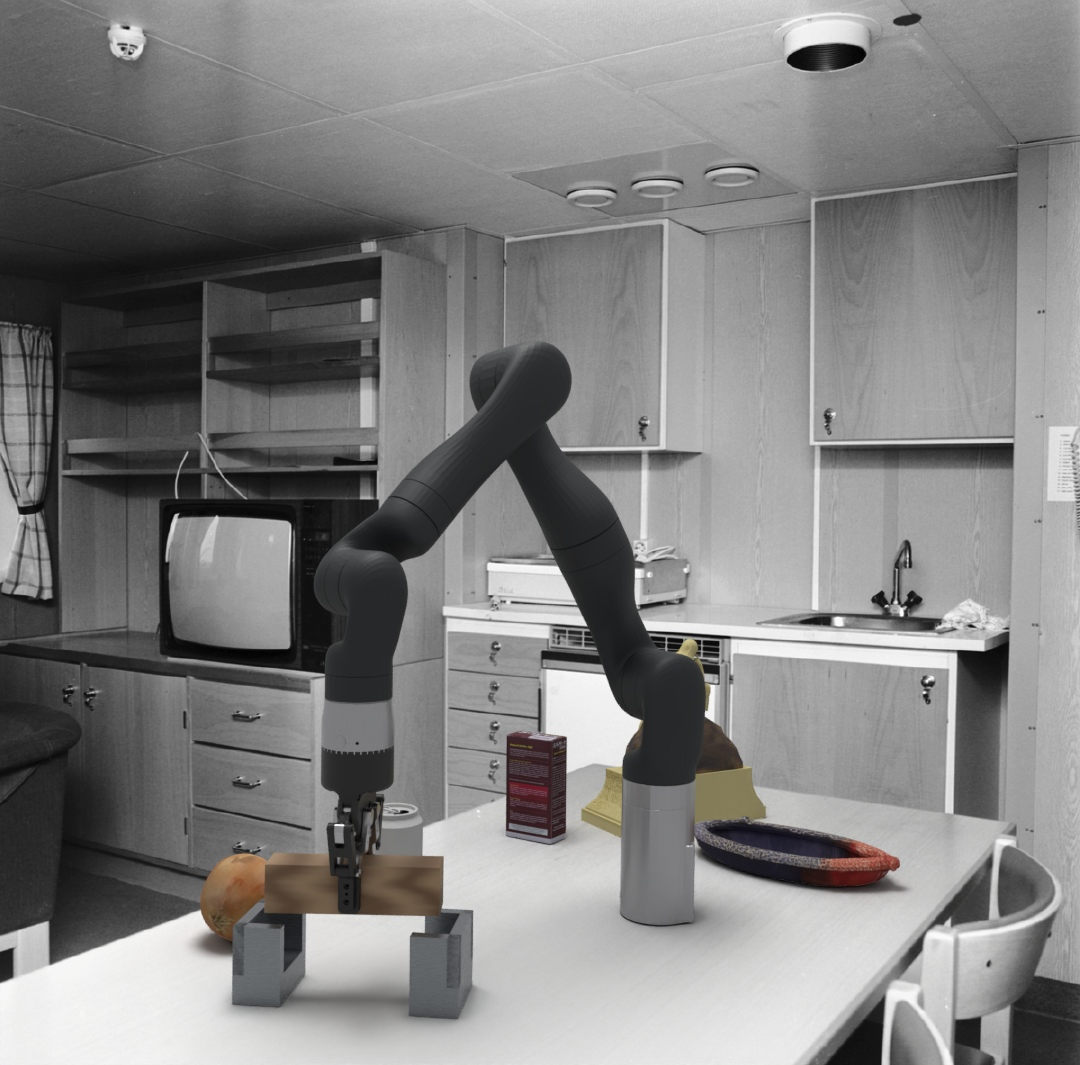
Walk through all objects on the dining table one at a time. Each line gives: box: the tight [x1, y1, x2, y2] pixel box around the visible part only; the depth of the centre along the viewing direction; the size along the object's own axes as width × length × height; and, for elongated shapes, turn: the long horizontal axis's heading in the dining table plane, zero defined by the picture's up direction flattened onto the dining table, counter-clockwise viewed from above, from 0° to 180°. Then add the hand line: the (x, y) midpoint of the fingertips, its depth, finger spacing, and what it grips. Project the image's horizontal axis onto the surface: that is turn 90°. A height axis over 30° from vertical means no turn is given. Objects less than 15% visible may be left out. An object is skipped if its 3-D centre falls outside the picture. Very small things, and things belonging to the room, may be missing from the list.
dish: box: [694, 816, 901, 888], centre depth 165 cm, size 16×31×5 cm, turn 52°
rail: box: [264, 852, 445, 917], centre depth 121 cm, size 18×4×5 cm, turn 89°
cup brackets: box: [231, 899, 474, 1020], centre depth 121 cm, size 23×8×8 cm, turn 84°
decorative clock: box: [581, 638, 767, 839], centre depth 191 cm, size 28×13×30 cm, turn 120°
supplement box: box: [505, 730, 568, 845], centre depth 179 cm, size 9×5×16 cm, turn 58°
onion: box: [199, 853, 268, 942], centre depth 136 cm, size 10×10×10 cm
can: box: [370, 802, 424, 856], centre depth 150 cm, size 8×8×12 cm
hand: (355, 903), depth 121 cm, fingers closed on rail, 4 cm apart
